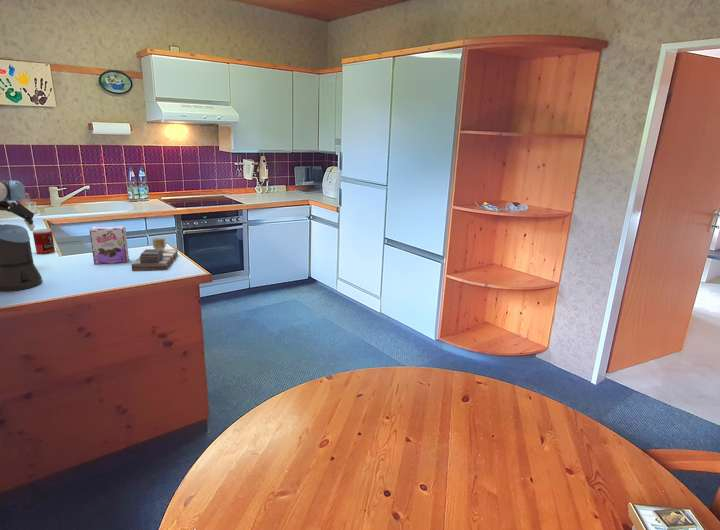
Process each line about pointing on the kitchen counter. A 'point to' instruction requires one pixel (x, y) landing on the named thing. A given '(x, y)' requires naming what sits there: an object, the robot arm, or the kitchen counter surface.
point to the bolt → (159, 243)
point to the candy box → (109, 245)
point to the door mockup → (154, 260)
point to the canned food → (43, 241)
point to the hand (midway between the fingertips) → (15, 228)
